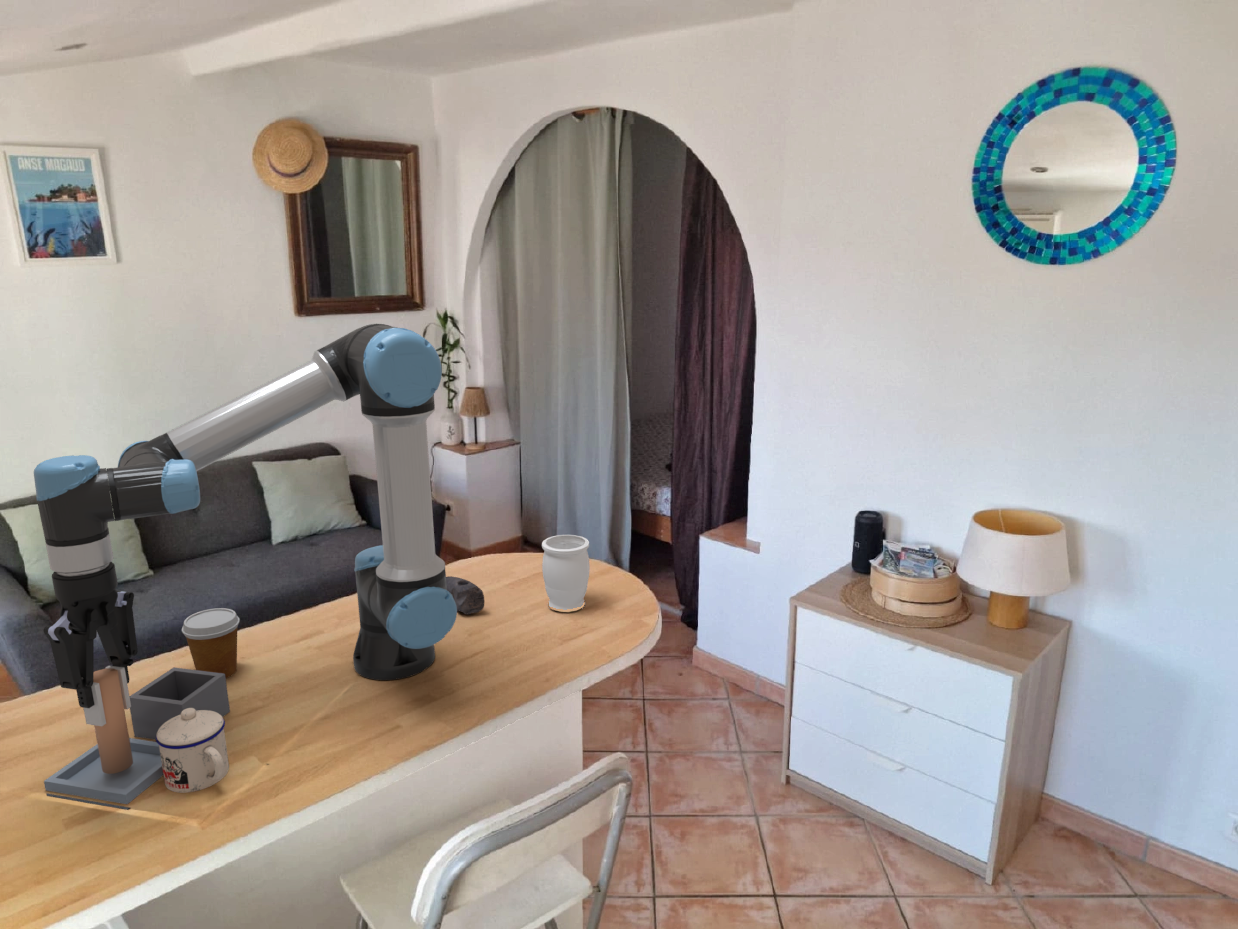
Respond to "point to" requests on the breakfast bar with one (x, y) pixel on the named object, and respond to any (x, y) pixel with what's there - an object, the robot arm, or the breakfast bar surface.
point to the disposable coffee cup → (213, 640)
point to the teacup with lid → (193, 750)
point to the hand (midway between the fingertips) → (109, 715)
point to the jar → (565, 570)
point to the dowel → (112, 724)
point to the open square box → (176, 698)
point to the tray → (108, 776)
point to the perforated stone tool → (465, 595)
